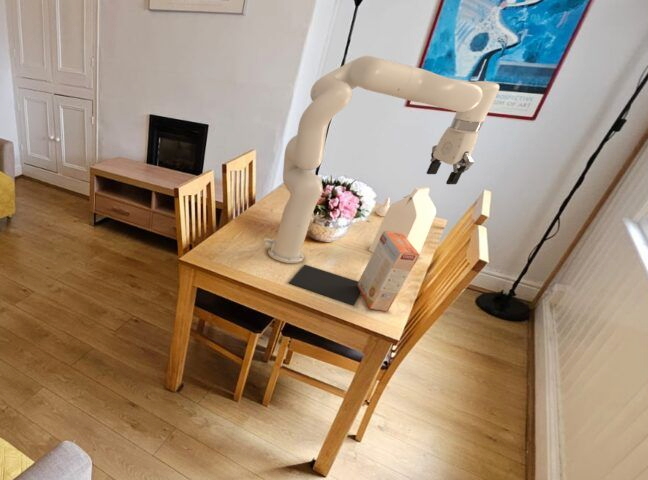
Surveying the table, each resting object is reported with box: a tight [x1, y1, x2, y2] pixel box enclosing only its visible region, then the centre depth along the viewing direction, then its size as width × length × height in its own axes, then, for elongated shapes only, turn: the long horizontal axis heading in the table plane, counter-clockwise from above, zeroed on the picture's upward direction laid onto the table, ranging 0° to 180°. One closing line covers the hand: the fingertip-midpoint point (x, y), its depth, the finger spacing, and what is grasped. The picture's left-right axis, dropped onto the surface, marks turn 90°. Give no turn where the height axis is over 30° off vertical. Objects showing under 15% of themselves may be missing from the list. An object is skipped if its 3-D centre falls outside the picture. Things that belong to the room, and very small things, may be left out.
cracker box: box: [357, 231, 421, 312], centre depth 139 cm, size 14×6×21 cm, turn 168°
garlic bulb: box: [375, 196, 391, 218], centre depth 198 cm, size 6×6×8 cm
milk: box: [368, 185, 437, 255], centre depth 163 cm, size 12×12×26 cm
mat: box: [288, 264, 362, 307], centre depth 152 cm, size 20×16×1 cm
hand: (440, 178), depth 149 cm, fingers open, 9 cm apart
